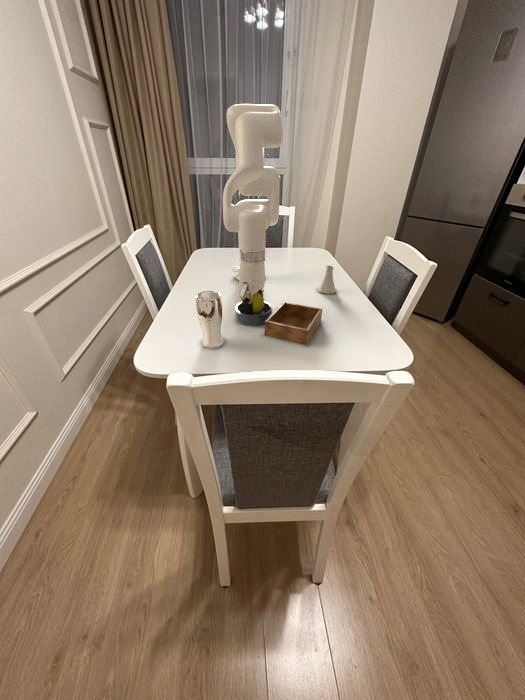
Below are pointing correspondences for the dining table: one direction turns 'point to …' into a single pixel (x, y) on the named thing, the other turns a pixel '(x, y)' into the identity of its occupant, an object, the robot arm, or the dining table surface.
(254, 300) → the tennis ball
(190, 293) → the dining table surface
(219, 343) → the beer glass
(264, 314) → the bowl
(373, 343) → the dining table surface
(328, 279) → the flask
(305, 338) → the wooden box
